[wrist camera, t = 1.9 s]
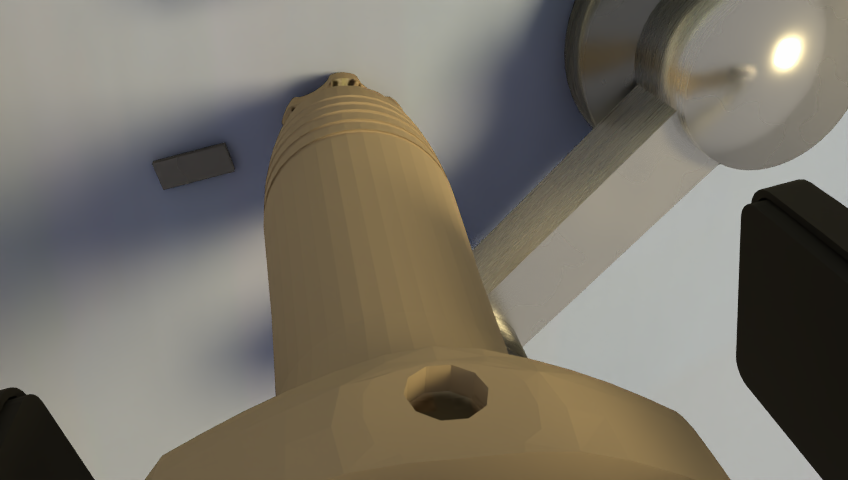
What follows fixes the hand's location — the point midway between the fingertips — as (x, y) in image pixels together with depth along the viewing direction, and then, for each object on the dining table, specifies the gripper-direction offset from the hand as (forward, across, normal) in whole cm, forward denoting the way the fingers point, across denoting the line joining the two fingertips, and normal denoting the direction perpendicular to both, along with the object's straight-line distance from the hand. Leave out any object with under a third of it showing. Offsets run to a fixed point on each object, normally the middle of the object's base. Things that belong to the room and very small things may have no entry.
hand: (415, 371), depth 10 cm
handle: (+12, 0, +1) cm, 12 cm away
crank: (+10, -6, +3) cm, 12 cm away
